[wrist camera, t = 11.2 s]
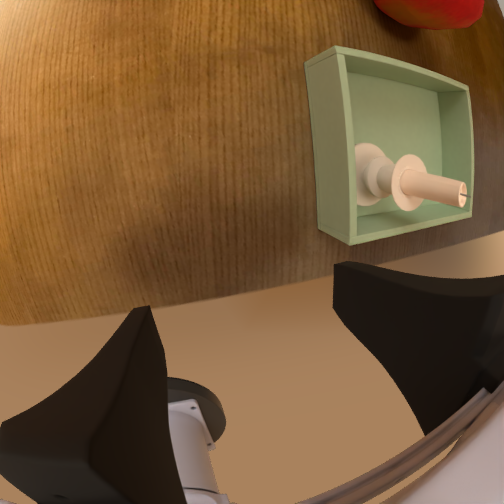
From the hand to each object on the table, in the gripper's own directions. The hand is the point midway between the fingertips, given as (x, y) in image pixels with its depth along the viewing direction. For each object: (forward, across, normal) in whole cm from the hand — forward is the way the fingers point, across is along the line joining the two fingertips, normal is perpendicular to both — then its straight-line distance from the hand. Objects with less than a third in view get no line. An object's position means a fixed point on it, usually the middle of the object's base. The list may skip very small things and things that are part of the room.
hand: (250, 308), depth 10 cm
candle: (+10, -13, -3) cm, 17 cm away
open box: (+10, -16, -6) cm, 20 cm away
